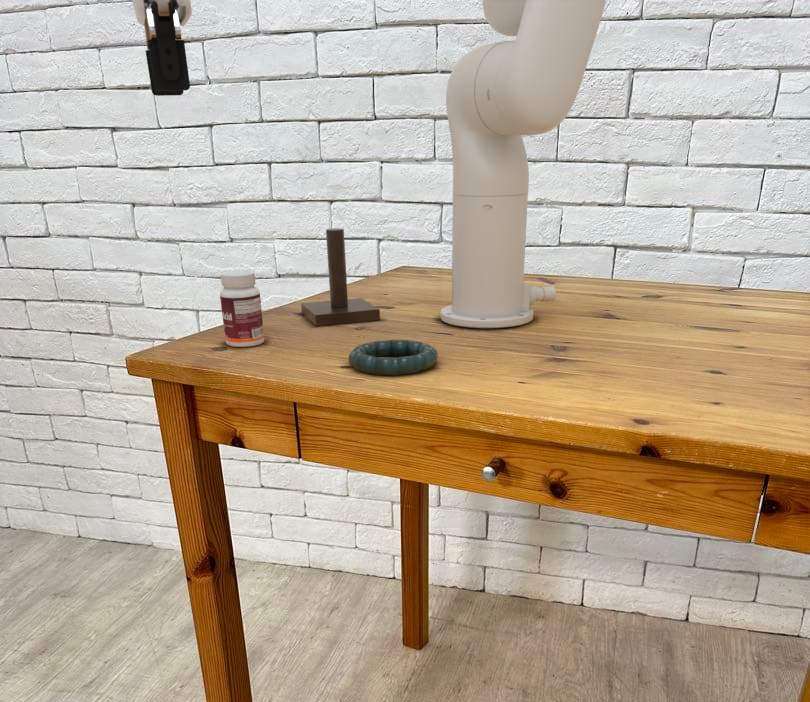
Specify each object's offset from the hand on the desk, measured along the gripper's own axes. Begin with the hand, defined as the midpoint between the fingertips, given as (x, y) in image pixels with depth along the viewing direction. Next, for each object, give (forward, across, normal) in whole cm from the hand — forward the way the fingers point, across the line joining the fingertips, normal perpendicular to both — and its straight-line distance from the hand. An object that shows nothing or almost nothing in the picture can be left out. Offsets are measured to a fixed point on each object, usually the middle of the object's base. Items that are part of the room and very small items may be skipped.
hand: (170, 92), depth 77 cm
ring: (+26, -11, -19) cm, 34 cm away
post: (+27, +16, -20) cm, 37 cm away
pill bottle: (+27, +6, -5) cm, 28 cm away
